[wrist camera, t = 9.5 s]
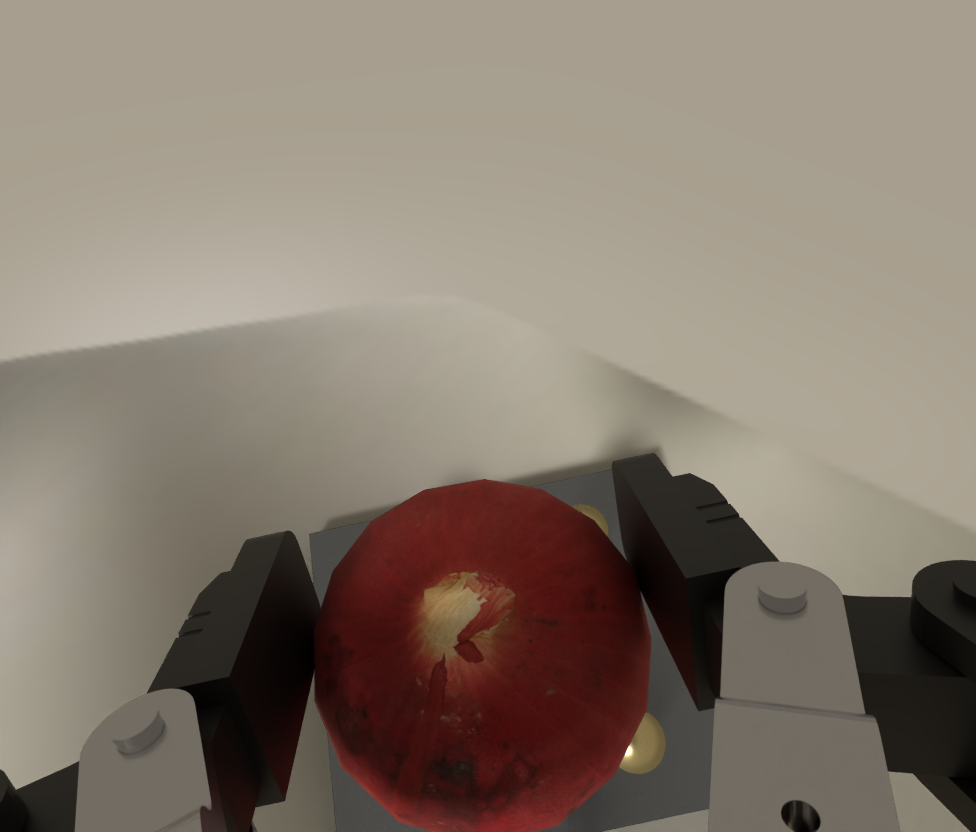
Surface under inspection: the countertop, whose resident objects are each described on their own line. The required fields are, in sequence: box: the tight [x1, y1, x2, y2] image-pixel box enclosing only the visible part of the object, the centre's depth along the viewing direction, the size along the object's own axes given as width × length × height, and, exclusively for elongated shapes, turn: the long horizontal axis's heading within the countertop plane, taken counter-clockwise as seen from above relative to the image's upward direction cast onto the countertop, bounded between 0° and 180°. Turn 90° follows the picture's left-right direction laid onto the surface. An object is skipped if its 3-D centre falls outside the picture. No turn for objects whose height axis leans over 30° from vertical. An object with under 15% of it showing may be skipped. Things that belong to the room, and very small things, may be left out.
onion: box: [313, 479, 652, 832], centre depth 11 cm, size 6×6×8 cm
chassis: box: [309, 470, 715, 832], centre depth 23 cm, size 14×12×4 cm
